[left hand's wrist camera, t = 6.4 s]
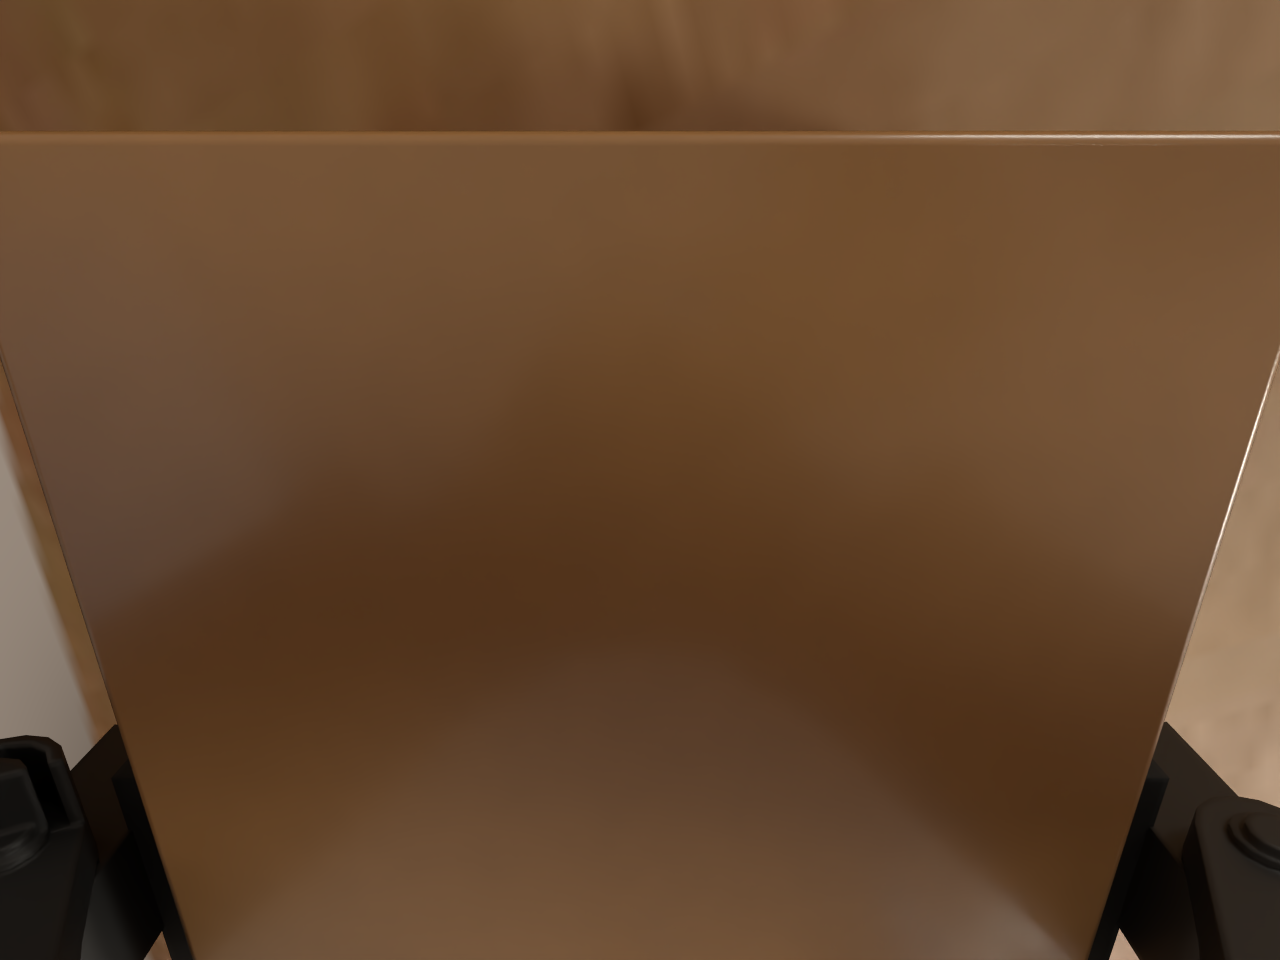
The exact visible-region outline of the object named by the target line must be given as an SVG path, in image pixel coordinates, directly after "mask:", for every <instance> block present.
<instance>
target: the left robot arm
mask: <svg viewBox="0 0 1280 960" xmlns="http://www.w3.org/2000/svg"><path fill="white" fill-rule="evenodd" d="M1119 928H1120V930H1121V931H1122V933H1123V934H1124V936H1125V937H1126V939H1127V941H1128V942H1129V944H1130V945H1131V947H1132V948H1133V950H1134V952H1135V953H1136V955H1137V956H1138V958H1139V960H1280V808H1278V807H1276V806H1273V805H1270V804H1268V803H1265V802H1262V801H1260V800H1255V799H1249V798H1243V797H1238V796H1237V795H1236V793H1235V792H1234V791H1233V790H1232V789H1231V788H1230V787H1229V786H1228V785H1227V784H1226V783H1225V782H1224V781H1223V780H1222V779H1221V778H1220V777H1219V776H1218V775H1217V774H1216V773H1215V772H1214V771H1213V770H1212V768H1211V767H1210V766H1209V765H1208V764H1207V763H1206V762H1205V761H1204V760H1203V759H1202V758H1201V757H1200V756H1199V755H1198V754H1197V753H1196V752H1195V751H1194V750H1193V749H1192V748H1191V747H1190V746H1189V745H1188V743H1187V742H1186V741H1185V740H1184V739H1183V738H1182V737H1181V736H1180V735H1179V734H1178V733H1177V732H1176V731H1175V730H1174V729H1173V728H1172V727H1171V726H1170V725H1169V724H1168V723H1167V722H1164V723H1163V726H1162V729H1161V733H1160V736H1159V739H1158V742H1157V745H1156V748H1155V751H1154V754H1153V758H1152V761H1151V764H1150V767H1149V770H1148V773H1147V776H1146V779H1145V782H1144V786H1143V789H1142V792H1141V795H1140V798H1139V801H1138V804H1137V807H1136V811H1135V814H1134V817H1133V820H1132V823H1131V826H1130V829H1129V832H1128V835H1127V839H1126V842H1125V845H1124V848H1123V851H1122V854H1121V857H1120V860H1119V864H1118V867H1117V870H1116V873H1115V876H1114V879H1113V882H1112V885H1111V889H1110V892H1109V895H1108V898H1107V901H1106V904H1105V907H1104V910H1103V913H1102V917H1101V920H1100V923H1099V926H1098V929H1097V932H1096V935H1095V938H1094V942H1093V945H1092V948H1091V951H1090V954H1089V957H1088V960H1109V958H1110V955H1111V952H1112V949H1113V946H1114V943H1115V940H1116V937H1117V934H1118V931H1119ZM161 931H162V932H163V935H164V938H165V941H166V944H167V947H168V950H169V953H170V956H171V959H172V960H193V958H192V955H191V952H190V949H189V945H188V942H187V939H186V936H185V933H184V930H183V927H182V924H181V920H180V917H179V914H178V911H177V908H176V905H175V902H174V899H173V895H172V892H171V889H170V886H169V883H168V880H167V877H166V874H165V871H164V867H163V864H162V861H161V858H160V855H159V852H158V849H157V846H156V842H155V839H154V836H153V833H152V830H151V827H150V824H149V821H148V817H147V814H146V811H145V808H144V805H143V802H142V799H141V796H140V792H139V789H138V786H137V783H136V780H135V777H134V774H133V771H132V767H131V764H130V761H129V758H128V755H127V752H126V749H125V746H124V742H123V739H122V736H121V733H120V730H119V727H118V725H114V726H113V727H112V728H111V729H110V730H109V731H108V732H107V733H106V734H105V735H104V736H103V737H102V738H101V739H100V740H99V742H98V743H97V744H96V745H95V746H94V747H93V748H92V749H91V750H90V751H89V752H88V753H87V754H86V755H85V756H84V757H83V758H82V759H81V760H80V761H79V762H78V764H77V765H76V766H75V767H74V768H73V769H72V770H71V771H70V769H69V766H68V764H67V761H66V758H65V755H64V752H63V750H62V747H61V745H59V744H58V743H56V742H55V741H53V740H52V739H50V738H49V737H40V736H29V735H24V736H18V737H11V738H5V739H0V960H144V958H145V957H146V955H147V953H148V952H149V950H150V949H151V947H152V946H153V944H154V942H155V941H156V939H157V938H158V936H159V934H160V933H161Z"/></svg>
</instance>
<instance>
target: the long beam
mask: <svg viewBox="0 0 1280 960" xmlns="http://www.w3.org/2000/svg"><path fill="white" fill-rule="evenodd" d="M0 358H1V362H2V365H3V368H4V371H5V374H6V377H7V380H8V383H9V387H10V390H11V393H12V396H13V399H14V402H15V405H16V408H17V412H18V415H19V418H20V421H21V424H22V427H23V430H24V433H25V437H26V440H27V443H28V446H29V449H30V452H31V455H32V458H33V461H34V465H35V468H36V471H37V474H38V477H39V480H40V483H41V486H42V490H43V493H44V496H45V499H46V502H47V505H48V508H49V511H50V515H51V518H52V521H53V524H54V527H55V530H56V533H57V536H58V540H59V543H60V546H61V549H62V552H63V555H64V558H65V561H66V565H67V568H68V571H69V574H70V577H71V580H72V583H73V586H74V589H75V593H76V596H77V599H78V602H79V605H80V608H81V611H82V614H83V618H84V621H85V624H86V627H87V630H88V633H89V636H90V639H91V643H92V646H93V649H94V652H95V655H96V658H97V661H98V664H99V668H100V671H101V674H102V677H103V680H104V683H105V686H106V689H107V693H108V696H109V699H110V702H111V705H112V708H113V711H114V714H115V718H116V721H117V724H118V727H119V730H120V733H121V736H122V739H123V742H124V746H125V749H126V752H127V755H128V758H129V761H130V764H131V767H132V771H133V774H134V777H135V780H136V783H137V786H138V789H139V792H140V796H141V799H142V802H143V805H144V808H145V811H146V814H147V817H148V821H149V824H150V827H151V830H152V833H153V836H154V839H155V842H156V846H157V849H158V852H159V855H160V858H161V861H162V864H163V867H164V871H165V874H166V877H167V880H168V883H169V886H170V889H171V892H172V895H173V899H174V902H175V905H176V908H177V911H178V914H179V917H180V920H181V924H182V927H183V930H184V933H185V936H186V939H187V942H188V945H189V949H190V952H191V955H192V958H193V960H1088V957H1089V954H1090V951H1091V948H1092V945H1093V942H1094V938H1095V935H1096V932H1097V929H1098V926H1099V923H1100V920H1101V917H1102V913H1103V910H1104V907H1105V904H1106V901H1107V898H1108V895H1109V892H1110V889H1111V885H1112V882H1113V879H1114V876H1115V873H1116V870H1117V867H1118V864H1119V860H1120V857H1121V854H1122V851H1123V848H1124V845H1125V842H1126V839H1127V835H1128V832H1129V829H1130V826H1131V823H1132V820H1133V817H1134V814H1135V811H1136V807H1137V804H1138V801H1139V798H1140V795H1141V792H1142V789H1143V786H1144V782H1145V779H1146V776H1147V773H1148V770H1149V767H1150V764H1151V761H1152V758H1153V754H1154V751H1155V748H1156V745H1157V742H1158V739H1159V736H1160V733H1161V729H1162V726H1163V723H1164V720H1165V717H1166V714H1167V711H1168V708H1169V704H1170V701H1171V698H1172V695H1173V692H1174V689H1175V686H1176V683H1177V680H1178V676H1179V673H1180V670H1181V667H1182V664H1183V661H1184V658H1185V655H1186V651H1187V648H1188V645H1189V642H1190V639H1191V636H1192V633H1193V630H1194V626H1195V623H1196V620H1197V617H1198V614H1199V611H1200V608H1201V605H1202V602H1203V598H1204V595H1205V592H1206V589H1207V586H1208V583H1209V580H1210V577H1211V573H1212V570H1213V567H1214V564H1215V561H1216V558H1217V555H1218V552H1219V549H1220V545H1221V542H1222V539H1223V536H1224V533H1225V530H1226V527H1227V524H1228V520H1229V517H1230V514H1231V511H1232V508H1233V505H1234V502H1235V499H1236V495H1237V492H1238V489H1239V486H1240V483H1241V480H1242V477H1243V474H1244V471H1245V467H1246V464H1247V461H1248V458H1249V455H1250V452H1251V449H1252V446H1253V442H1254V439H1255V436H1256V433H1257V430H1258V427H1259V424H1260V421H1261V417H1262V414H1263V411H1264V408H1265V405H1266V402H1267V399H1268V396H1269V393H1270V389H1271V386H1272V383H1273V380H1274V377H1275V374H1276V371H1277V368H1278V364H1279V361H1280V131H0Z"/></svg>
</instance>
